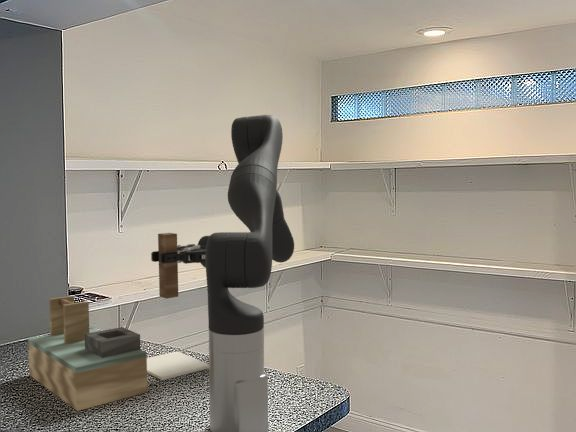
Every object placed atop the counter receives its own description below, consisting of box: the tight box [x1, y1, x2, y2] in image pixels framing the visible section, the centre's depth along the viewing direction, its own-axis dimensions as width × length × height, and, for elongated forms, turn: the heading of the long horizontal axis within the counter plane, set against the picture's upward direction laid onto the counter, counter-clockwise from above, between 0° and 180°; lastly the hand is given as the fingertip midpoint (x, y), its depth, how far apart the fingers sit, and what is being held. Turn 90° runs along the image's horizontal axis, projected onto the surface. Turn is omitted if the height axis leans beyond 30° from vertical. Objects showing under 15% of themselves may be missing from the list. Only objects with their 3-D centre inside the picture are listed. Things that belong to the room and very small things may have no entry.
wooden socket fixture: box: [27, 295, 148, 412], centre depth 122 cm, size 26×14×16 cm, turn 41°
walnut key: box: [157, 232, 179, 300], centre depth 132 cm, size 3×3×14 cm
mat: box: [147, 351, 209, 381], centre depth 133 cm, size 14×12×1 cm
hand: (156, 257), depth 129 cm, fingers closed on walnut key, 3 cm apart
